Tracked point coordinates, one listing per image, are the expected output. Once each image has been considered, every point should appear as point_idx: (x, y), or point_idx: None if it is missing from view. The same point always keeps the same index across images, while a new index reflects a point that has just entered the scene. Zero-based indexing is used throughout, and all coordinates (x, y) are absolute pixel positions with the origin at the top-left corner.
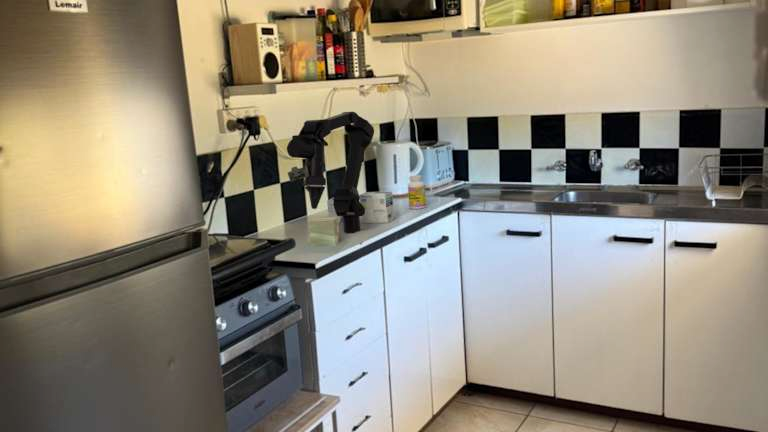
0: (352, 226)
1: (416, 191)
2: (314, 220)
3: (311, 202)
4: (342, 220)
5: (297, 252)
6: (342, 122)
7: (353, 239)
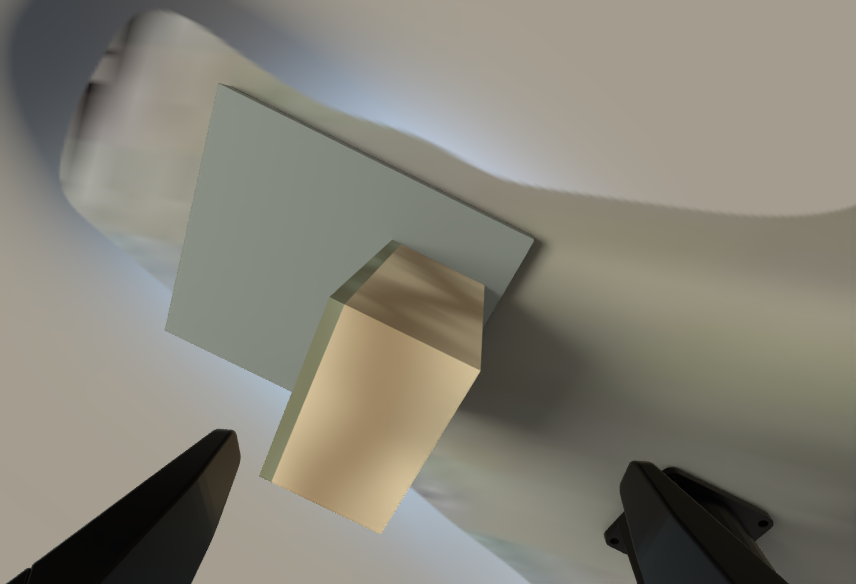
0: (629, 558)
1: None
2: (353, 355)
3: (684, 542)
4: None
5: (257, 126)
6: None
7: (504, 479)
